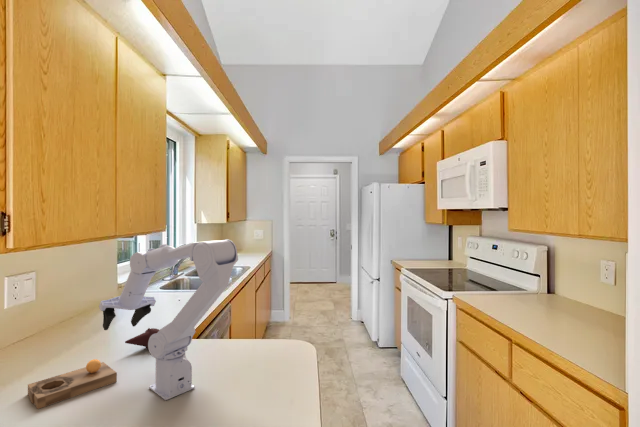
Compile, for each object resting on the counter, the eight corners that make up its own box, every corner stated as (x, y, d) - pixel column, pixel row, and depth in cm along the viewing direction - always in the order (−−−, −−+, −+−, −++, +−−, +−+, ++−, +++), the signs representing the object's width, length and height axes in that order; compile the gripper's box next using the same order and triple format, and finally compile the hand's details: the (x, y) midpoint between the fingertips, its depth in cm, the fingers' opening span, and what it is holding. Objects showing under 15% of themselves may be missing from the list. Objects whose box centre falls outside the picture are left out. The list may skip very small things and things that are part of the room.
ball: (102, 371, 93) (102, 359, 93) (88, 376, 91) (88, 363, 91) (98, 368, 96) (98, 356, 96) (84, 372, 93) (84, 360, 93)
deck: (116, 381, 93) (116, 372, 93) (36, 409, 80) (36, 399, 80) (103, 370, 100) (103, 361, 100) (26, 394, 86) (26, 384, 86)
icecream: (129, 338, 108) (178, 331, 118) (124, 326, 113) (171, 321, 123) (125, 358, 109) (174, 350, 118) (121, 345, 114) (168, 338, 124)
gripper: (155, 279, 104) (140, 313, 108) (103, 280, 93) (87, 319, 96) (164, 293, 100) (147, 329, 103) (110, 297, 89) (94, 337, 92)
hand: (119, 325), depth 100 cm, fingers open, 7 cm apart
